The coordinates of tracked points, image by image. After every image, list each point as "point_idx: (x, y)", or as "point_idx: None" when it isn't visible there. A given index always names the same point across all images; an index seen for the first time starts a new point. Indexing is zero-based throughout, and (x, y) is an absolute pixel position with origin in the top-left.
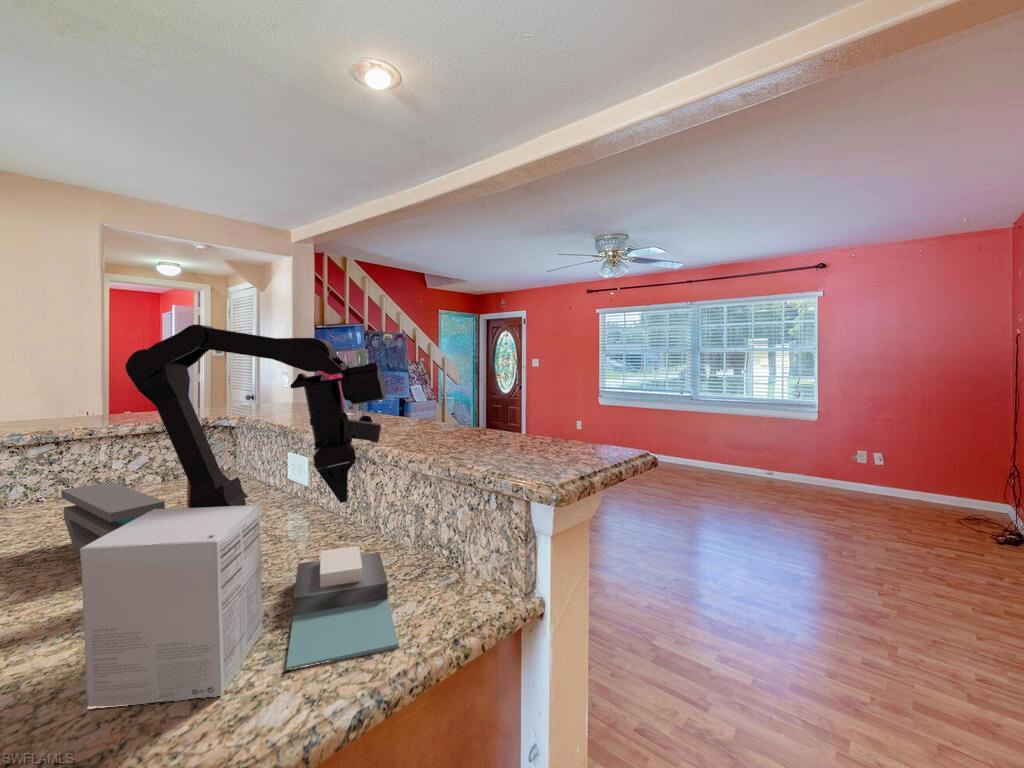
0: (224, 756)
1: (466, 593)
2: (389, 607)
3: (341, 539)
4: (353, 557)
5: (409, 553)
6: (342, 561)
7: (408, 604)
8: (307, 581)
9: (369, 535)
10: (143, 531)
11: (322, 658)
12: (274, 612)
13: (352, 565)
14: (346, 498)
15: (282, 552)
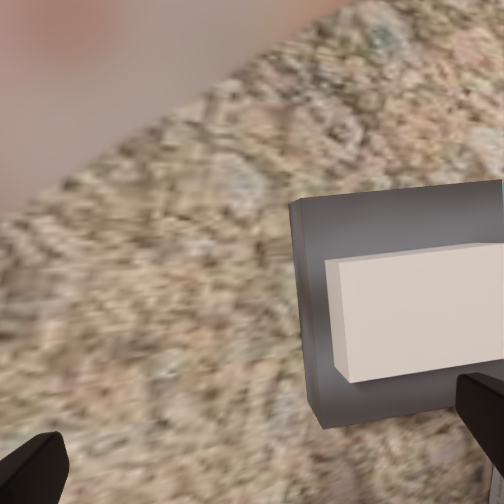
0: None
1: (469, 5)
2: (502, 183)
3: (23, 330)
4: (428, 274)
5: (200, 114)
6: (448, 304)
7: (480, 143)
8: (441, 380)
9: (4, 238)
10: None
11: None
12: (437, 417)
13: (483, 272)
14: (501, 382)
15: (97, 491)
